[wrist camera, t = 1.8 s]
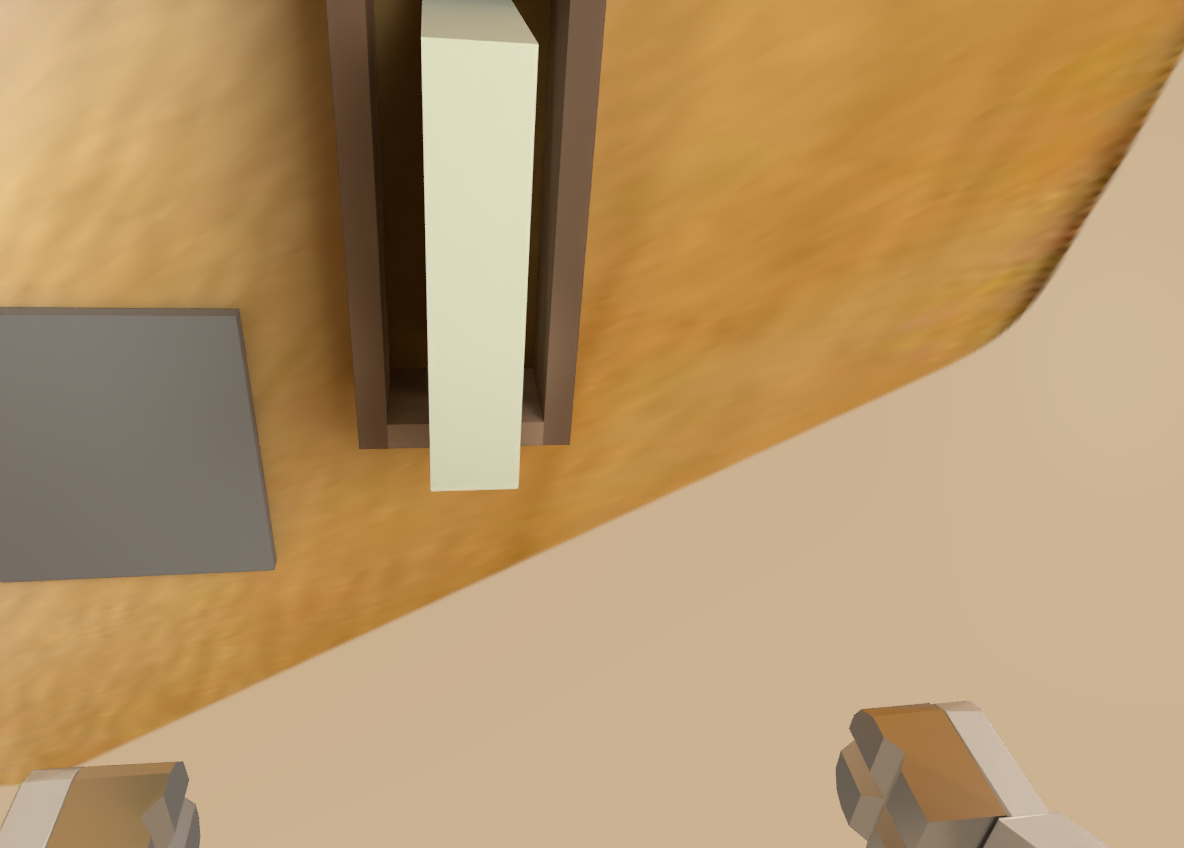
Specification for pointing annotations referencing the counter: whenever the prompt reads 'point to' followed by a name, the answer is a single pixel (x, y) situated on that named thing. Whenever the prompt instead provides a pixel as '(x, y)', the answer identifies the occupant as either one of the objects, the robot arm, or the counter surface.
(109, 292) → the counter surface
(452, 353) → the cream rectangular block
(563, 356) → the walnut box
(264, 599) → the counter surface
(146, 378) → the rubber mat
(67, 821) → the robot arm
